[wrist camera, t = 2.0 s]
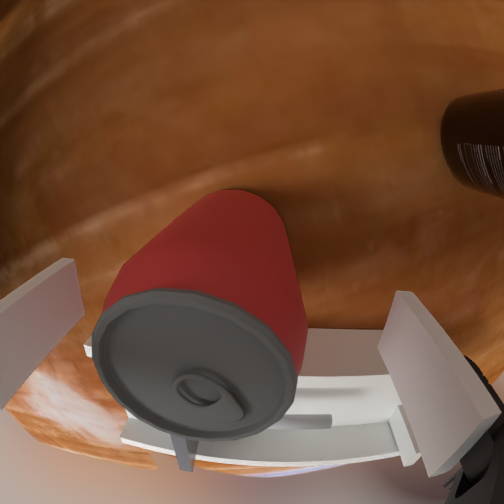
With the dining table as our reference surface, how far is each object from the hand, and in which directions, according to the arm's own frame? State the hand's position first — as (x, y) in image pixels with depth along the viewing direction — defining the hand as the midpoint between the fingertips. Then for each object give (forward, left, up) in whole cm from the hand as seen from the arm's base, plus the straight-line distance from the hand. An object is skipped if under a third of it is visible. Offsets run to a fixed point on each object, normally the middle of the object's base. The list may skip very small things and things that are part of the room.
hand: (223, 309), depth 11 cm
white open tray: (+4, -12, -8) cm, 15 cm away
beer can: (0, 0, -8) cm, 8 cm away
